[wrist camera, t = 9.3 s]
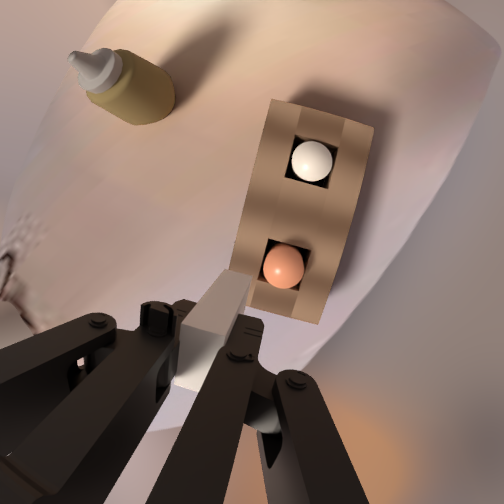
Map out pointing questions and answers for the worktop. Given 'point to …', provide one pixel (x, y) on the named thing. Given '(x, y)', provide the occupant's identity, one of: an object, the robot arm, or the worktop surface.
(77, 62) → the squeeze bottle
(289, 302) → the walnut plug block
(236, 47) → the worktop surface
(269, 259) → the terracotta plug
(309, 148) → the white oval piece
